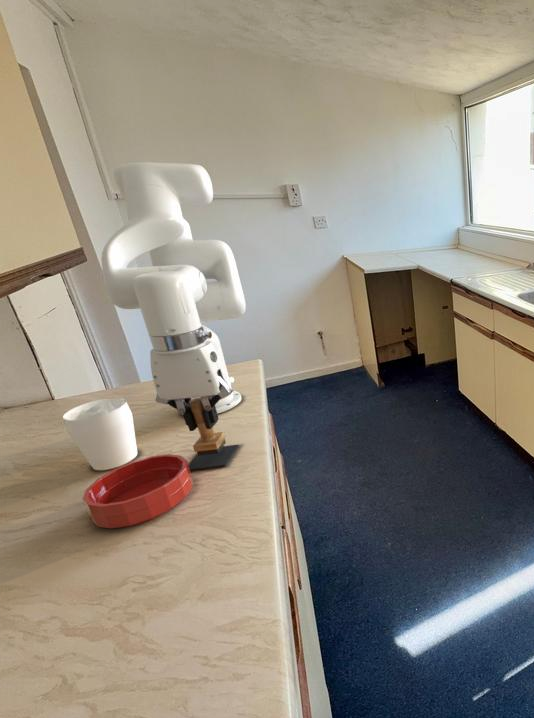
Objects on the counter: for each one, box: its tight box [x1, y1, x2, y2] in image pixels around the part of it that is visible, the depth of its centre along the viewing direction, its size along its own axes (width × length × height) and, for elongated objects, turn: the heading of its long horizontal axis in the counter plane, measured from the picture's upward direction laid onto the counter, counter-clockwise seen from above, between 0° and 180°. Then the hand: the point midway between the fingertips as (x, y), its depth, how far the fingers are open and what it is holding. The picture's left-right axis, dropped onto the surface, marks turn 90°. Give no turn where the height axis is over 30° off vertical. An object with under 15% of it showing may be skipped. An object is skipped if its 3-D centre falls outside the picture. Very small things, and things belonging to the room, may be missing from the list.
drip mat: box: [188, 444, 240, 472], centre depth 81 cm, size 7×7×1 cm
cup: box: [62, 397, 138, 471], centre depth 79 cm, size 9×9×12 cm
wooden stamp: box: [189, 398, 227, 456], centre depth 79 cm, size 4×4×12 cm
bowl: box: [82, 453, 194, 529], centre depth 69 cm, size 13×13×5 cm
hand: (203, 425), depth 79 cm, fingers closed on wooden stamp, 2 cm apart
